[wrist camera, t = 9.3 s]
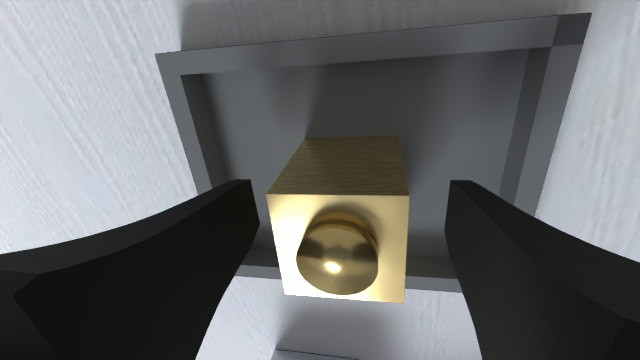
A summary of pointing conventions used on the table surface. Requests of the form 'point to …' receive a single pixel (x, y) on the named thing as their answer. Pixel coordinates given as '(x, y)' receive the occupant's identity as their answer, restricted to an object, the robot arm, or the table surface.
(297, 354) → the box
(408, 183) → the parts tray
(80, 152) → the table surface
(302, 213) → the fitting block
